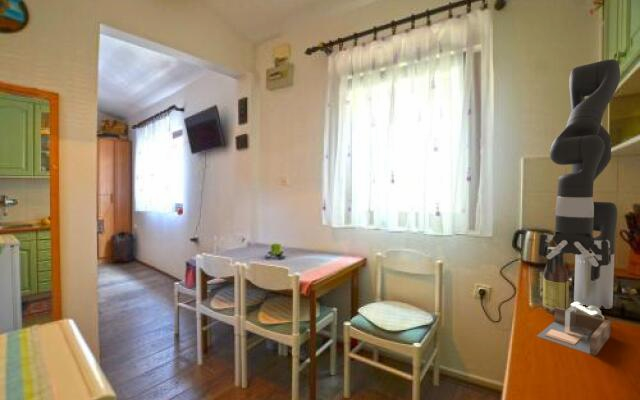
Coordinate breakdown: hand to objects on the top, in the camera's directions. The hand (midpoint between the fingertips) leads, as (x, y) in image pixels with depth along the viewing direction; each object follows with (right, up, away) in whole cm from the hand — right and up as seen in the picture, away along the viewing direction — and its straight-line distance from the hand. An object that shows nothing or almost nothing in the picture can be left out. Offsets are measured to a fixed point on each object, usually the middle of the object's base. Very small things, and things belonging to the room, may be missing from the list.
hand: (571, 276), depth 79 cm
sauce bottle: (+6, -15, +14) cm, 21 cm away
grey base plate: (-1, -15, -2) cm, 15 cm away
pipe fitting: (+13, -15, +9) cm, 22 cm away
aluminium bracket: (+1, -15, -1) cm, 15 cm away
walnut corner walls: (-1, -15, -2) cm, 15 cm away
